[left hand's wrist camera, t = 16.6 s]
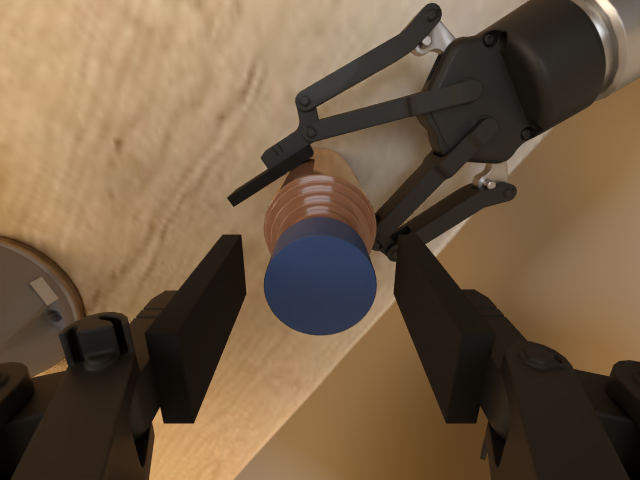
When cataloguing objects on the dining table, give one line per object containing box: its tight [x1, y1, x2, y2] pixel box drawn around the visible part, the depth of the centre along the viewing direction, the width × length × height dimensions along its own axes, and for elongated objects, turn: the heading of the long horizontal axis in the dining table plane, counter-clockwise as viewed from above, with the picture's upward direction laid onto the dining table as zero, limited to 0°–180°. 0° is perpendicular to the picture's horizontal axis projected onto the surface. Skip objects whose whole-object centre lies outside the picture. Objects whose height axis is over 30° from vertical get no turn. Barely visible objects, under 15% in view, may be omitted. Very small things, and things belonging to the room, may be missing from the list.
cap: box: [264, 217, 377, 335], centre depth 13 cm, size 4×4×2 cm
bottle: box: [264, 148, 377, 256], centre depth 22 cm, size 6×6×19 cm
